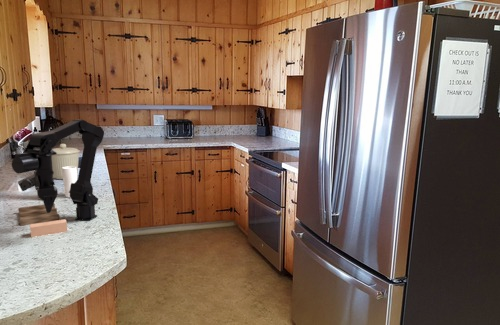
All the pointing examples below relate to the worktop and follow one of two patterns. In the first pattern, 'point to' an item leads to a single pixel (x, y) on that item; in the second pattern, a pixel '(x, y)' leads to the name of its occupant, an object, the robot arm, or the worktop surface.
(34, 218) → the brown ridged slab
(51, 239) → the worktop surface
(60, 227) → the peach long block
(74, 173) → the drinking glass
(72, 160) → the canister
